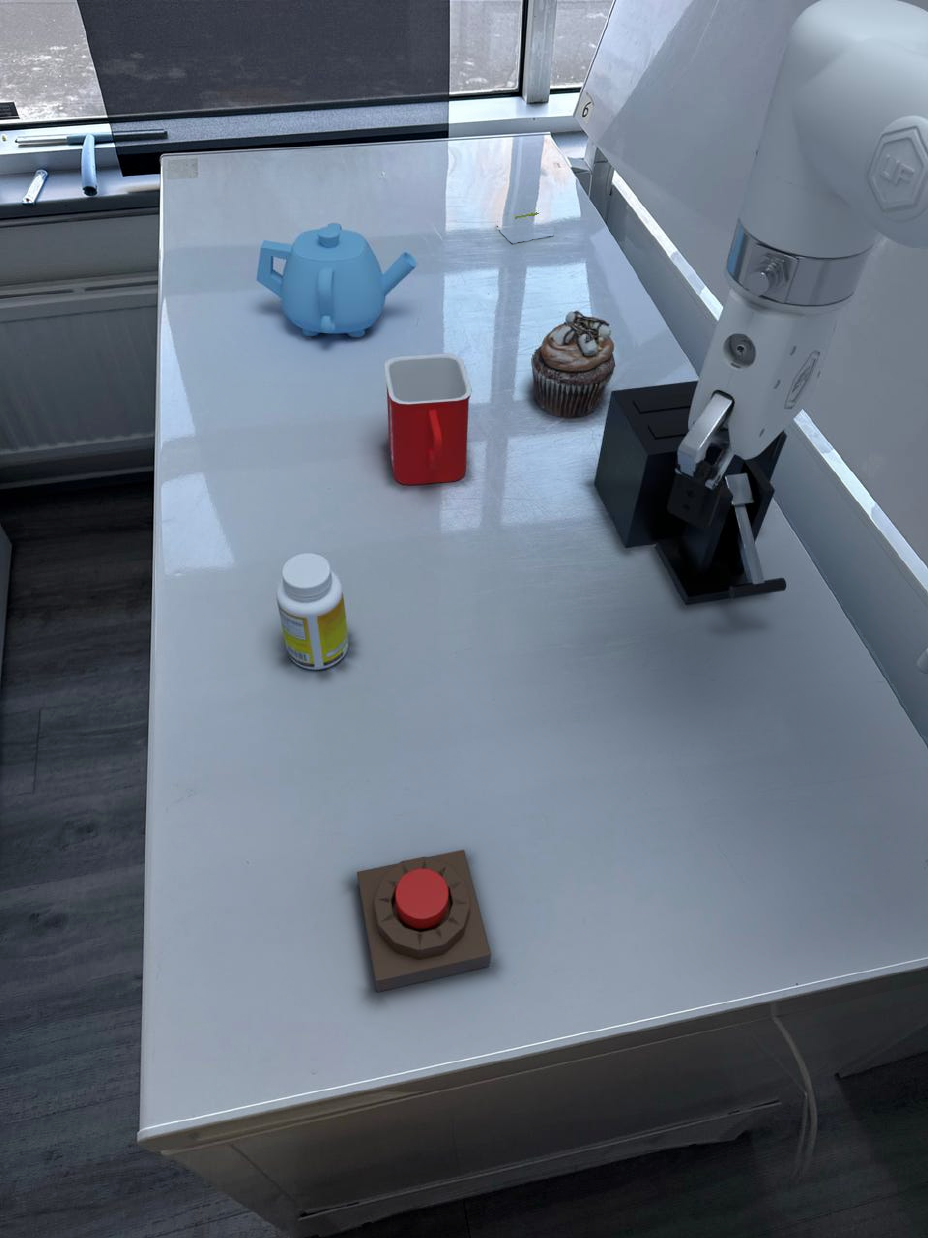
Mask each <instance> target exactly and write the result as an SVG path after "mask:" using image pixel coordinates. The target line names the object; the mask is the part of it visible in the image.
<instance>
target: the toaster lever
mask: <svg viewBox="0 0 928 1238" xmlns="http://www.w3.org/2000/svg"><path fill="white" fill-rule="evenodd" d="M722 479H723V480H724V482H725V483H726V485H727V487H728V488H729V490H730V491H731V493H732V494H733V496H734V497H733V500H732V503H731V506H730V509H729V511H728V512H730V513H731V517H732V521H733V525H734V529H735V533H736V537H737V541H738V545H739V549H740V553H741V557H742V561H743V566H744V570H745V574H746V578H747V582H748V583H746V584H739V585H733V586H730V588H729V595H730V597H729V598H731V600H736V599H742V598H748V597H756V596H761V595H767V594H772V593H779V592H785V591H786V589H787V581H786V580H785V578H784V577H776V578H771V579H764V574H763V570H762V567H761V563H760V558H759V554H758V550H757V547H756V541H755V542H754V538H753V534H752V530H751V526H750V522H749V518H748V514H747V510H746V507H747V506H749V505H750V504H752V503H753V502H754V499H753V495H752V491H751V487H750V483H749V479H748V475H747V473H742V474H734V475H727V476H724V477H723V478H722Z"/></svg>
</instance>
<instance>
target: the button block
mask: <svg viewBox="0 0 928 1238" xmlns="http://www.w3.org/2000/svg"><path fill="white" fill-rule="evenodd" d="M420 868H424V869H430V870H433V871H435V872H437V873H438V874H439V875H441V876H442V878H443V879H444V880H445V882H446V884H447V887H448V893H449V895H448V908H447V912H446V914H445V916H444V917H443V919H442V920H441V921H440V922H439V923H438V924H436V925H434V926H432V927H429V928H425V929H419V928H414V927H411V926H409V925H407V924H406V923H405V922H403V921H402V919H401V918H400V917H399V915H398V912H397V909H396V898H395V892H396V887H397V884H398V882H399V881H400V879H401V878H402V877H403V876H404V875H405V874H406V873H408V872H410V871H412V870H415V869H420ZM471 875H472V874H471V871H470V867H469V863H468V859H467V856H466V852H465V849H461V850H456V851H450V852H447V853H446V852H445V853H441V854H437V855H433V856H420V857H415V858H410V859H406V860H401V861H400V862H398V863H393V864H388V865H383V866H379V867H373V868H369V869H365V870H360V871H359V870H358V871H356V877H357V884H358V891H359V895H360V903H361V908H362V914H363V920H364V925H365V931H366V937H367V942H368V948H369V954H370V961H371V965H372V966H371V967H372V972H373V978H374V984H375V989H376V993H381V992H385V991H389V990H394V989H397V988H403V987H406V986H410V985H411V986H412V985H415V984H419V983H424V982H428V981H432V980H436V979H441V978H446V977H449V976H453V975H458V974H462V973H463V974H464V973H466V972H471V971H475V970H479V969H484V968H489V967H490V965H491V958H492V953H491V949H490V944H489V941H488V937H487V934H486V929H485V926H484V921H483V917H482V914H481V910H480V906H479V902H478V899H477V894H476V891H475V887H474V883H473V879H472V876H471Z"/></svg>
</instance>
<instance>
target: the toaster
mask: <svg viewBox="0 0 928 1238" xmlns="http://www.w3.org/2000/svg"><path fill="white" fill-rule="evenodd" d="M697 383H698V380H692V381H691V380H690V381H682V382H674V383H666V384H658V385H649V386H648V385H647V386H641V387H633V388H624V389H615V390H611V392H610V397H609V402H608V407H607V412H606V417H605V423H604V429H603V434H602V439H601V444H600V450H599V456H598V460H597V466H596V471H595V478H594V483H593V485H594V487H595V489H596V491H597V493H598V495H599V497H600V499H601V502H602V503H603V506H604V507H605V509H606V511H607V513H608V515H609V517H610V519H611V521H612V523H613V525H614V527H615V529H616V531H617V532H618V535H619V538H620V539H621V541H622V543H623V545H624V547H625V548H633V547H634V548H635V547H640V546H646V545H654V544H657V541H658V540H664V539H671V538H678V537H682V536H683V533H684V530H685V526H686V523H687V522H686V521H684V520H682V519H681V518H679V517H677V516H675V515H673V514H671V513H669V512H668V510H667V505H668V501H669V497H670V494H671V490H672V487H673V483H674V479H675V476H676V472H675V469H676V462H677V461H676V460H677V458H678V454H677V452H678V448H679V446H680V444H681V442H682V441H683V439H684V438H685V436H686V435H687V434H688V432H689V427H688V420H689V414H690V409H691V405H692V401H693V397H694V394H695V390H696V387H697ZM716 435H718V436H720V437H722V438H725V439H727V440H729V441H730V438H729V430H728V429H727V428H725V427H723V426H722V427H721V429H720V430H719V432H718V433H717V434H716ZM787 438H788V435H787V433H786V432H785V431H784V432H783V435H782V438H781V440H780V443H779V446H778V448H777V451H776V453H775V456H774V457H773V458H772V459H771V460H770V461H766V460H763V459H761V458H759V457H757V456H756V457H754V458H751V459H748V460H752V459H754V460H755V462H756V463H757V465H758V466H759V468H760V469H761V471H762V472H763V473H764V475H765V476H766V478H767V479H768V481H769V482H770V483H771V481H772V477H773V474H774V473H775V469H776V466H777V464H778V461H779V458H780V456H781V454H782V451H783V448H784V446H785V442H786V440H787ZM722 450H723V449H721V448H719V447H717V446H715V445H713V444H711V443H710V445H709V446H708V448H707V450H706V454H705V458H704V461H706V462H708V463H709V464H710V465H715V463H716V461H717V460H718V458H719V456H720V454H721V452H722ZM744 461H745V460H744V459H742V458H741V457H740V456H738V455H735V454H734V456H733V458H732V459H731V461H730V463H729V465H728V467H727V468H726V470H725V472H724V474H723V476H722V478H723V477H724V476H727V475H734V474H740V471H741V468H742V465H743V463H744Z"/></svg>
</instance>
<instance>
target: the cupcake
mask: <svg viewBox="0 0 928 1238" xmlns="http://www.w3.org/2000/svg"><path fill="white" fill-rule="evenodd" d="M564 319H565V321H564V322H563V323H561V324H560V323H559V324H558V325H557V326H555V327H554V328H553V329H552V330H551V331H550V332H549V333H547V334H546V336H545V337H544V338H543V340H542V343H541V345H540V346H539V347H538V348H535V349H534V352H533V354H531V357H530V364H531V365H530V366H531V372H532V380H533V381H532V382H533V392H534V394H533V395H534V400H535V403H536V405H537V406H538V407H539V408H540V409H542V410H543V411H545V412H546V413H547V414H550V415H552V416H555V417H559V418H560V417H562V418H568V419H574V418H582V417H585V416H589V415H590V414H592V413H595V411H596V410H597V407H598V406H599V405H600V402H601V400H602V397H603V395H604V393H605V391H606V388H607V386H608V384H609V382H610V380H611V379H612V376H613V375H614V371H615V368H616V360H615V356H614V351H615V343H614V342H613V340H612V338H611V334H612V329H611V328H610V323H609V322H607V321H606V320H604V319H601V318H598V317H594V316H586V315H584V314H583V313H582V312H580V311H579V310H575V311H569V312H568V313H567V314H566V315H565V318H564Z"/></svg>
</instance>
